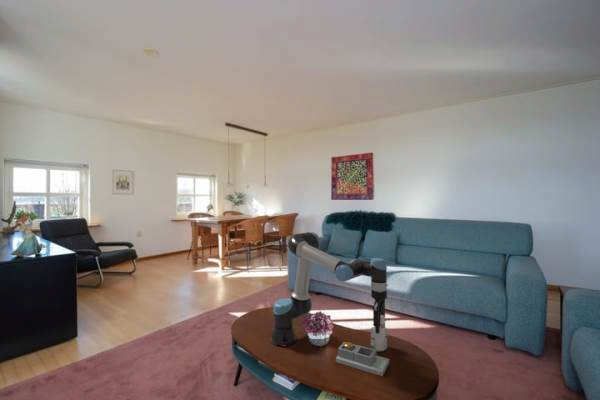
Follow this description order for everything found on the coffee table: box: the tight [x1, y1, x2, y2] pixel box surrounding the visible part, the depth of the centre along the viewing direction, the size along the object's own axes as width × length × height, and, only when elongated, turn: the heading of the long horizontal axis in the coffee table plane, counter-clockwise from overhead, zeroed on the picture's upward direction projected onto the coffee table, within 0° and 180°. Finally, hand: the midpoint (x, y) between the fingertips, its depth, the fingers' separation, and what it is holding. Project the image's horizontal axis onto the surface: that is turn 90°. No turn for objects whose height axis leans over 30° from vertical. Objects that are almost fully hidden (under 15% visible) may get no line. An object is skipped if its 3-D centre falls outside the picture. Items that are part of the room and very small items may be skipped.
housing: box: [335, 341, 390, 377], centre depth 146 cm, size 24×13×6 cm, turn 59°
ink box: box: [370, 326, 388, 353], centre depth 160 cm, size 9×5×12 cm, turn 123°
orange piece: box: [344, 341, 354, 351], centre depth 150 cm, size 5×5×5 cm
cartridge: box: [373, 314, 386, 352], centre depth 142 cm, size 5×5×16 cm
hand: (379, 336), depth 142 cm, fingers closed on cartridge, 5 cm apart
